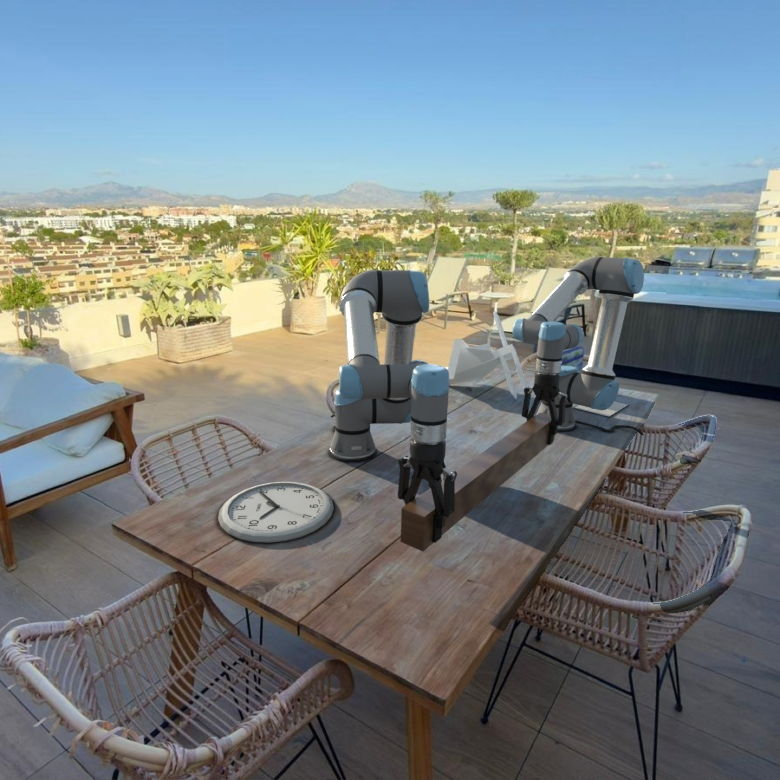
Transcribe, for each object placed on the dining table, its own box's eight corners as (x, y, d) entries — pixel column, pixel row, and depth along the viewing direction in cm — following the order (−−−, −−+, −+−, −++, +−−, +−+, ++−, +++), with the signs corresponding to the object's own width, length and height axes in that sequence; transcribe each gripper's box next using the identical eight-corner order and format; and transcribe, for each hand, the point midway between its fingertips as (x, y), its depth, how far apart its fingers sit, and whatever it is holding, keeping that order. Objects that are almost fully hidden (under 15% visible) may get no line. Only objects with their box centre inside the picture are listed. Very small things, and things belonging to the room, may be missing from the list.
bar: (537, 436, 175) (539, 412, 172) (554, 440, 172) (557, 416, 169) (400, 541, 115) (401, 507, 112) (422, 551, 111) (424, 517, 109)
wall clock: (332, 534, 126) (204, 538, 124) (332, 540, 127) (205, 544, 124) (334, 477, 155) (230, 480, 152) (334, 482, 155) (231, 485, 153)
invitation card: (608, 416, 214) (573, 407, 224) (608, 416, 214) (573, 408, 224) (628, 404, 229) (594, 396, 238) (628, 405, 229) (594, 397, 238)
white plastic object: (461, 429, 252) (437, 405, 227) (444, 352, 274) (420, 323, 250) (535, 404, 240) (518, 377, 215) (510, 326, 262) (492, 293, 237)
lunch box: (556, 397, 238) (561, 352, 232) (535, 391, 245) (539, 348, 239) (582, 385, 256) (588, 344, 249) (562, 381, 263) (567, 340, 257)
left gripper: (381, 433, 112) (380, 527, 119) (458, 456, 102) (452, 558, 109) (401, 423, 118) (399, 513, 125) (476, 444, 107) (469, 541, 114)
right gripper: (514, 369, 165) (508, 437, 172) (574, 380, 154) (565, 452, 161) (523, 364, 171) (517, 430, 178) (582, 375, 160) (573, 444, 167)
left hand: (424, 534), depth 117 cm, fingers closed on bar, 6 cm apart
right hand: (540, 440), depth 169 cm, fingers closed on bar, 6 cm apart
